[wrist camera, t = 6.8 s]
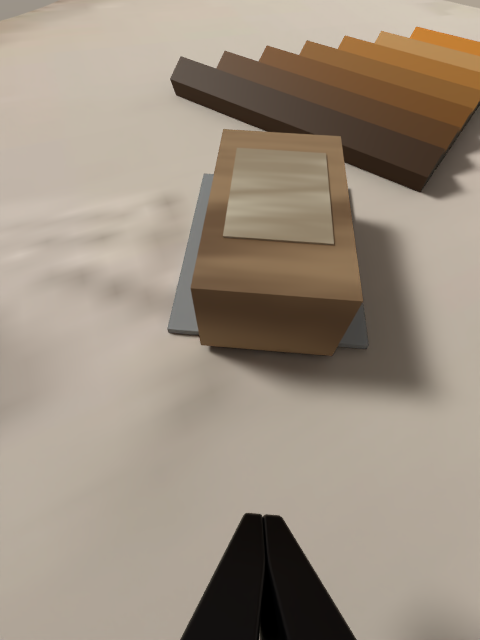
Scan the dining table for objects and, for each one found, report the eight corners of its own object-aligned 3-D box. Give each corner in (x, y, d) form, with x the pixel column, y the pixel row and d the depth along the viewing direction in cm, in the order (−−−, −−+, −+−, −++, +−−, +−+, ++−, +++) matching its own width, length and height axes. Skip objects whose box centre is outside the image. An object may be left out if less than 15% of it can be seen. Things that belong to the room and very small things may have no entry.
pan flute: (173, 102, 33) (414, 201, 26) (167, 62, 30) (437, 160, 23) (299, 28, 44) (495, 82, 37) (304, -7, 41) (517, 44, 34)
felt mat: (366, 348, 18) (368, 345, 18) (168, 332, 19) (167, 328, 18) (345, 187, 26) (347, 183, 25) (204, 178, 26) (203, 173, 26)
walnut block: (364, 299, 13) (341, 134, 20) (190, 286, 13) (223, 127, 20) (332, 355, 18) (322, 205, 24) (201, 344, 18) (225, 199, 24)
